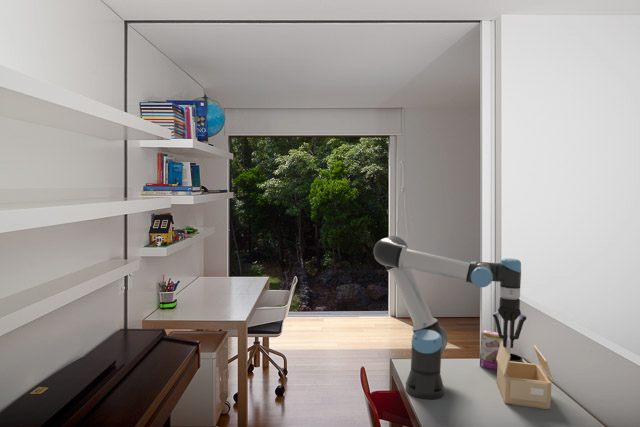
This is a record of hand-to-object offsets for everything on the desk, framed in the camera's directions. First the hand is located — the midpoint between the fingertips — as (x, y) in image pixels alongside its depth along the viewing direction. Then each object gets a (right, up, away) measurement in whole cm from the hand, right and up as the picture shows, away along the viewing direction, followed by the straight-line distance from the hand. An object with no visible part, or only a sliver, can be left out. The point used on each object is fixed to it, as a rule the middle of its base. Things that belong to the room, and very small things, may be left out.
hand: (507, 355), depth 181 cm
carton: (+5, -16, -1) cm, 17 cm away
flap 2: (+13, -2, -3) cm, 13 cm away
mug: (+10, -16, +19) cm, 26 cm away
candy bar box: (+5, -15, +28) cm, 32 cm away
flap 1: (-2, -1, 0) cm, 2 cm away
